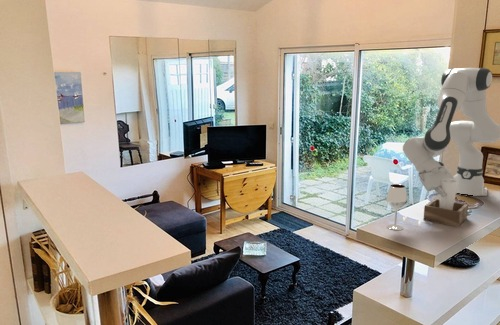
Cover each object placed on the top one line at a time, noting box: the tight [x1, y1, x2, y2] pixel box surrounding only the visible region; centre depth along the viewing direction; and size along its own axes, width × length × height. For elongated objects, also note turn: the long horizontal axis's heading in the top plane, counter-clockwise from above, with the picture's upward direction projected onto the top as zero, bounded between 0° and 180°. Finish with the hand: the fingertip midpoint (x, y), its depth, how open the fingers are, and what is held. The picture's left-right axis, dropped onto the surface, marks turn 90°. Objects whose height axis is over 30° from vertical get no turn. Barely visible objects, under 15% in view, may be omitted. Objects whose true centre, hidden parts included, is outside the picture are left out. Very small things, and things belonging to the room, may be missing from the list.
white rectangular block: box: [438, 179, 457, 210], centre depth 171 cm, size 7×7×15 cm
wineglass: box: [385, 183, 409, 231], centre depth 162 cm, size 8×8×18 cm
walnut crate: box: [422, 198, 469, 228], centre depth 173 cm, size 14×14×6 cm
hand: (448, 194), depth 171 cm, fingers closed on white rectangular block, 6 cm apart
